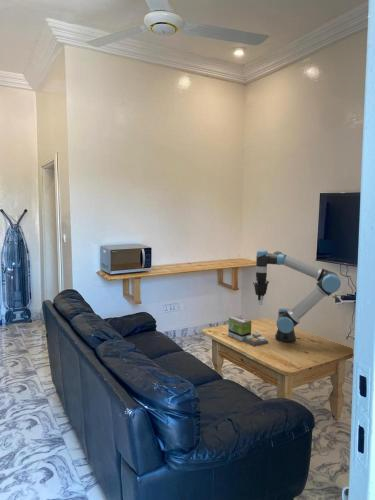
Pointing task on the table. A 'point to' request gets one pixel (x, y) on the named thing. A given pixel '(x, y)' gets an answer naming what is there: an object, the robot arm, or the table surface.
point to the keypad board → (255, 343)
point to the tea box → (239, 327)
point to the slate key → (256, 335)
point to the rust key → (254, 340)
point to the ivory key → (261, 339)
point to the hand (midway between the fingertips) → (260, 304)
